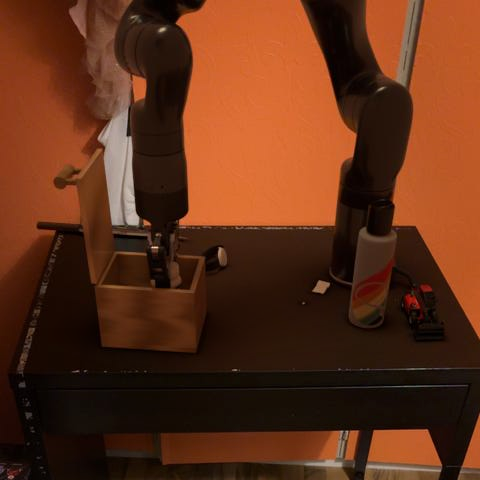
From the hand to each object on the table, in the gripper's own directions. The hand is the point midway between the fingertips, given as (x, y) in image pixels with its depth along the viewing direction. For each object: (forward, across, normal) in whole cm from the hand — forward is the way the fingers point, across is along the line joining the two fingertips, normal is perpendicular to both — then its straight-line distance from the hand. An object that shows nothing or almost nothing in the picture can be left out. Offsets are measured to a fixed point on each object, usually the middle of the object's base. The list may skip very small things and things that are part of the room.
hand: (167, 290), depth 113 cm
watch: (+8, +23, -4) cm, 25 cm away
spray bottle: (+8, +7, -31) cm, 33 cm away
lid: (-11, 0, +9) cm, 15 cm away
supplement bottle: (+5, 0, 0) cm, 5 cm away
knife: (+7, +33, +2) cm, 34 cm away
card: (+7, +15, -23) cm, 28 cm away
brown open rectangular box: (+7, 0, +2) cm, 8 cm away
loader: (+8, +8, -40) cm, 41 cm away
